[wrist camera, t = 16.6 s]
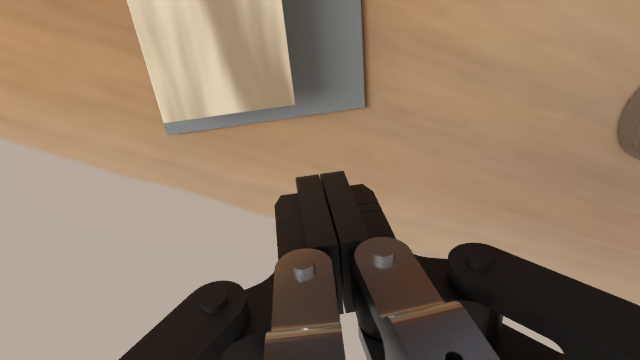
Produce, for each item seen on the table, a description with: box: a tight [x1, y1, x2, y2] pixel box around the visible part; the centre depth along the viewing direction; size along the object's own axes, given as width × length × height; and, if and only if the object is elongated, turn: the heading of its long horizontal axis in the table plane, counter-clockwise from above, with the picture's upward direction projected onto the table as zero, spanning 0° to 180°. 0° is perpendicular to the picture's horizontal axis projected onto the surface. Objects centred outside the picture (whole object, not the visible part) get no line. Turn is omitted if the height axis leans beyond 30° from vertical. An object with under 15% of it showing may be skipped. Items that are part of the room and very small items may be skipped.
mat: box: [164, 0, 365, 135], centre depth 30 cm, size 16×14×1 cm
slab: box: [127, 0, 295, 123], centre depth 28 cm, size 4×9×9 cm
